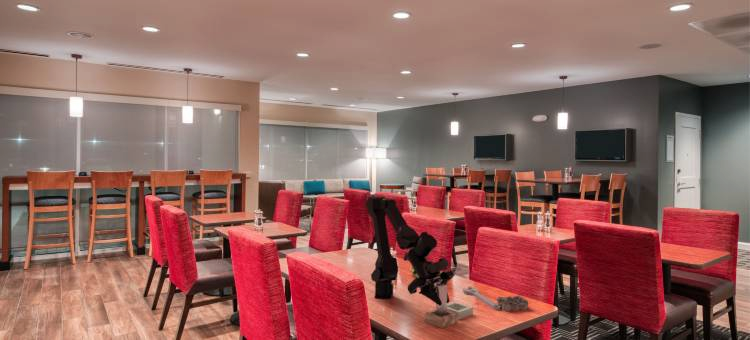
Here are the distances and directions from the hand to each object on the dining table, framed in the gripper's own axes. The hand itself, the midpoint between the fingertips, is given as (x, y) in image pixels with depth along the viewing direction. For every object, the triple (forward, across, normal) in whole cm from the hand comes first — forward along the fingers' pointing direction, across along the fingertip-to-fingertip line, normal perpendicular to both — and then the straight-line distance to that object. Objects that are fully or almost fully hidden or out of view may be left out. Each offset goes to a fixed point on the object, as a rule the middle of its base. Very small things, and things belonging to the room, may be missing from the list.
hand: (444, 303), depth 151 cm
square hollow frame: (+3, +10, +7) cm, 13 cm away
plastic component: (-23, +37, +33) cm, 55 cm away
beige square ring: (+4, 0, +6) cm, 7 cm away
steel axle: (+4, 0, +6) cm, 7 cm away
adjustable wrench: (0, +31, +10) cm, 32 cm away
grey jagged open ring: (+9, +32, +1) cm, 33 cm away
